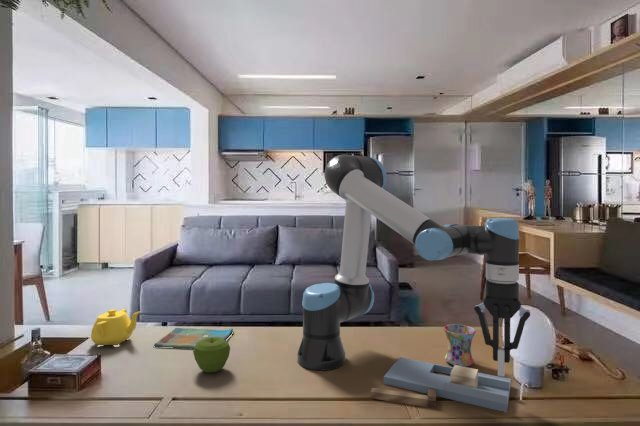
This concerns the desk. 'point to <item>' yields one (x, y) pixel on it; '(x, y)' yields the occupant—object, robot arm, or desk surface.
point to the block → (464, 376)
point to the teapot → (113, 327)
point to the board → (449, 384)
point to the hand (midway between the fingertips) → (501, 373)
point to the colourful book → (190, 337)
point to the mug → (459, 344)
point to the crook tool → (406, 397)
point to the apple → (211, 354)
